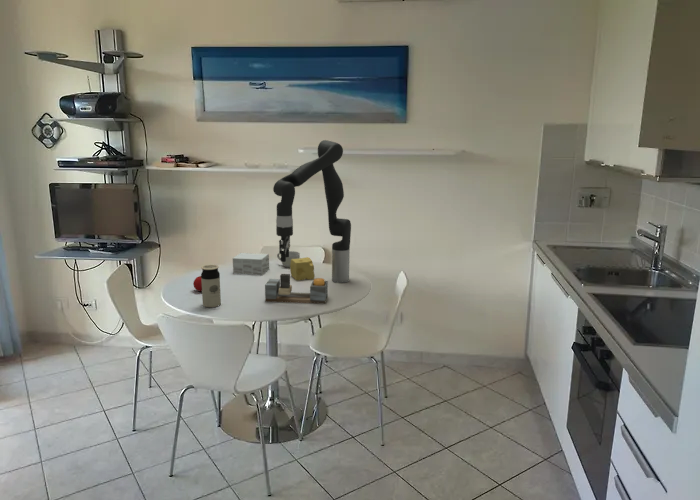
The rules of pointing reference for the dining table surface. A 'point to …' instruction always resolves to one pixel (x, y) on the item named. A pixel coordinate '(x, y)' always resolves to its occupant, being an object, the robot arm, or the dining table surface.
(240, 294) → the dining table surface
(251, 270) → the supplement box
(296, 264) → the cheese
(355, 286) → the dining table surface
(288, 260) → the teacup
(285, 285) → the carriage
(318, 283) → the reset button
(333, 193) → the robot arm
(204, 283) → the travel mug
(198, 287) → the tomato
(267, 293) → the stand
